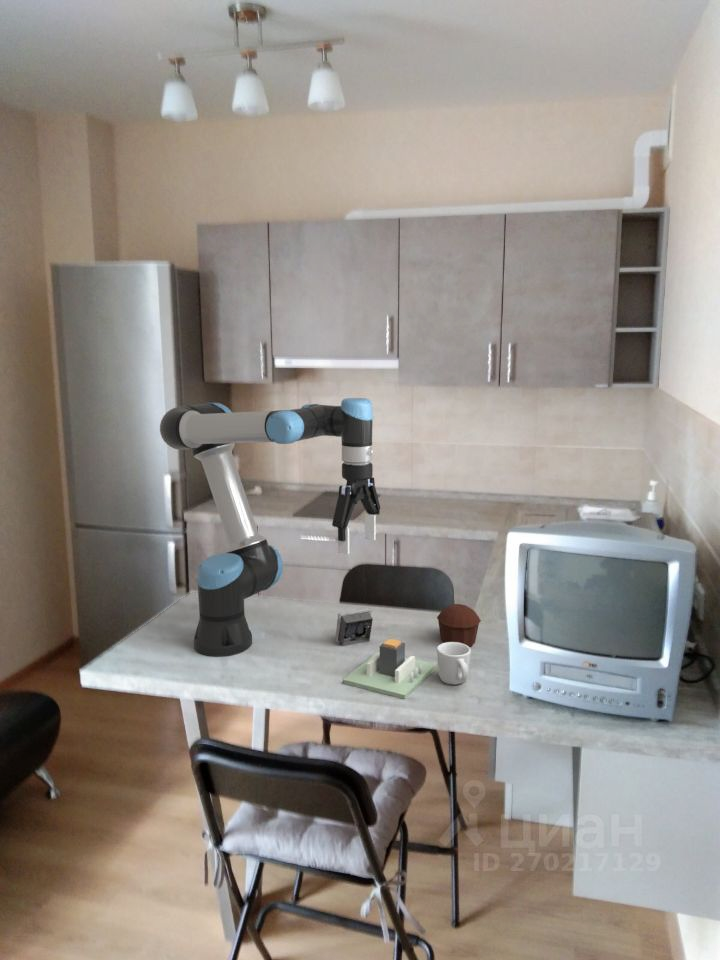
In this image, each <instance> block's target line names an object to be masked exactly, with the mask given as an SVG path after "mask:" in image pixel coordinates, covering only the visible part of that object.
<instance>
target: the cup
mask: <svg viewBox="0 0 720 960" xmlns="http://www.w3.org/2000/svg"><path fill="white" fill-rule="evenodd" d="M436 647H437V648H436V654H437V656H436V657H437V658H436V659H437V667H438V669H437V670H438V675H439V679H440V680H441V681H442V682H443V683H445V684H448V685H461V684H463V683H465V682H466V681H467V679H468V677H469V676H468V675H469V668H470V661H471V654H472V649H471V647H468V646H467V645H465V644H462V643H458V642H446V643H440V644H439V645H438V646H436Z"/></svg>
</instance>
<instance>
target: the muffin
mask: <svg viewBox="0 0 720 960" xmlns="http://www.w3.org/2000/svg"><path fill="white" fill-rule="evenodd" d="M436 618H437V622H438V627H439V635H440V641H441V644H443V643H446V642H458V643H462V644H465V645H467V646H468V647H470V648H472V647H473V646H474V645H475V644H476V640H477V634H478V630H479V624H480V622H481V621H482V620H481V618H480V616H478V614H477V612H476V611H475V610H474V609H473V608H471V607H469V606H468V605H466V604H461V603H453V604H450V605H447V606H445V607H444V608H443V609H442V610H441V611H440V612H439V614H438V615H437V617H436Z"/></svg>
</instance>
